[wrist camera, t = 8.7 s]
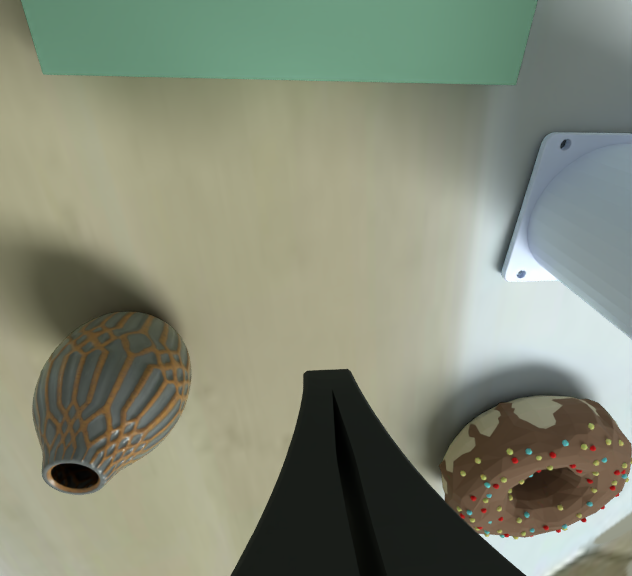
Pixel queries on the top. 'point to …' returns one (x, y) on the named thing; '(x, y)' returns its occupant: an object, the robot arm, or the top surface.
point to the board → (285, 39)
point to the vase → (108, 398)
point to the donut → (535, 466)
